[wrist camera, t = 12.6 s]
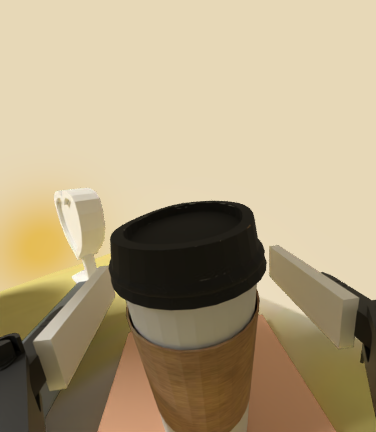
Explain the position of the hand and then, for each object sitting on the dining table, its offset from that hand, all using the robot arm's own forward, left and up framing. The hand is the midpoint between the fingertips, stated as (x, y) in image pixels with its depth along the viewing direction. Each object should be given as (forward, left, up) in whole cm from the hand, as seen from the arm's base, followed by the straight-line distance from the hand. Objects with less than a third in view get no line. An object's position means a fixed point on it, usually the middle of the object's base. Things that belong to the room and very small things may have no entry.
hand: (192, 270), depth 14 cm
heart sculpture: (-27, +5, -11) cm, 29 cm away
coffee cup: (+2, -3, -10) cm, 10 cm away
